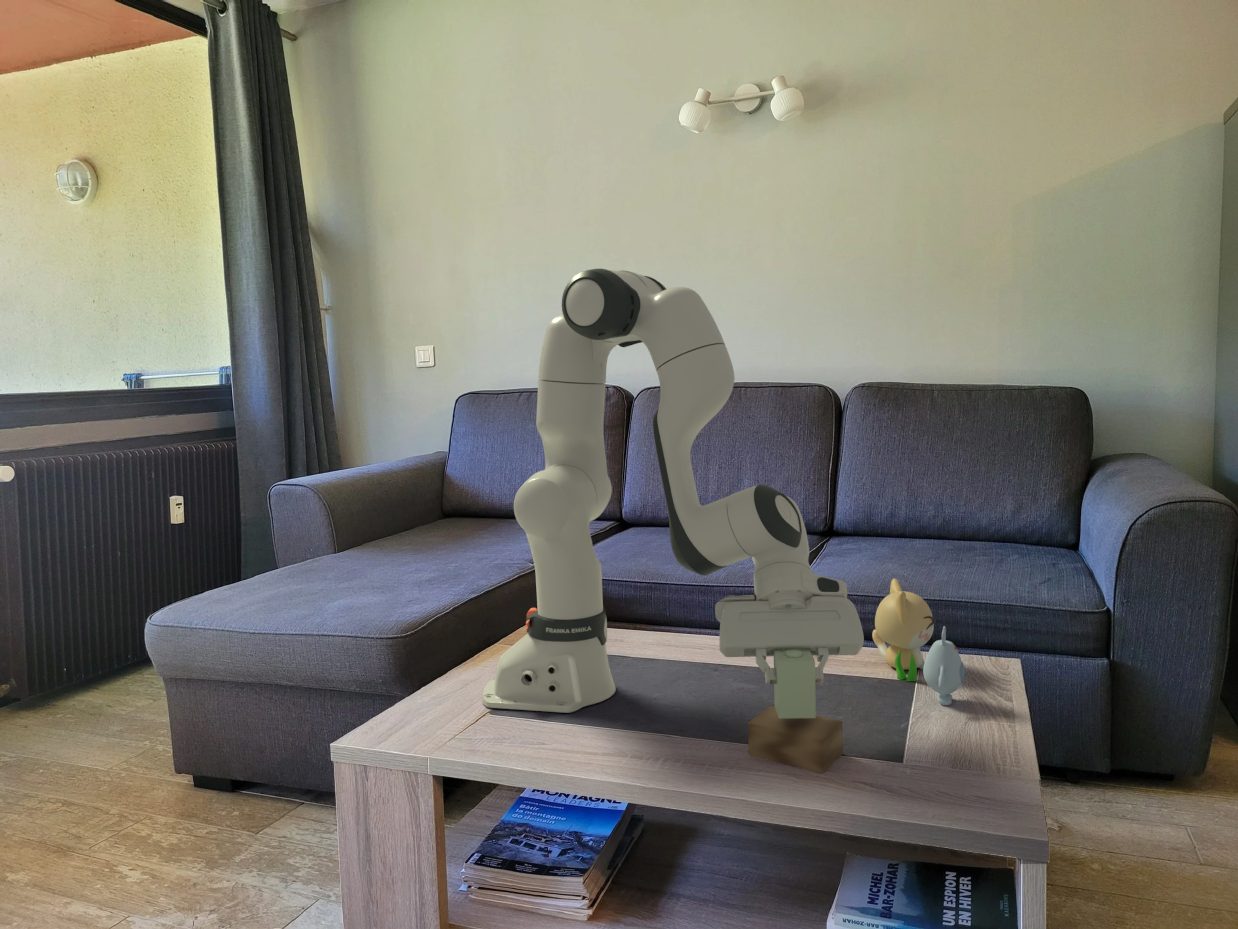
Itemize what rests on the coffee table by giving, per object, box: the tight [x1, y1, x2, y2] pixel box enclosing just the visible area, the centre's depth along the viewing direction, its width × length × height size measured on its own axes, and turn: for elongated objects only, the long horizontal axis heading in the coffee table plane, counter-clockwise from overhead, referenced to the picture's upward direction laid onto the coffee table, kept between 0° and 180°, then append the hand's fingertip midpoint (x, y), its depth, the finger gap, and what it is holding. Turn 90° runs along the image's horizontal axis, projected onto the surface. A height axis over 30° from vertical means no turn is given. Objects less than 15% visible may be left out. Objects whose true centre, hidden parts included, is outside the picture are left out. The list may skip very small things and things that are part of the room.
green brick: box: [773, 649, 817, 719], centre depth 122 cm, size 5×5×8 cm
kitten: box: [871, 577, 936, 682], centre depth 156 cm, size 15×10×15 cm
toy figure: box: [922, 625, 966, 706], centre depth 140 cm, size 11×6×12 cm, turn 156°
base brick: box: [747, 705, 844, 774], centre depth 123 cm, size 11×7×5 cm, turn 55°
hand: (795, 682), depth 122 cm, fingers closed on green brick, 5 cm apart
